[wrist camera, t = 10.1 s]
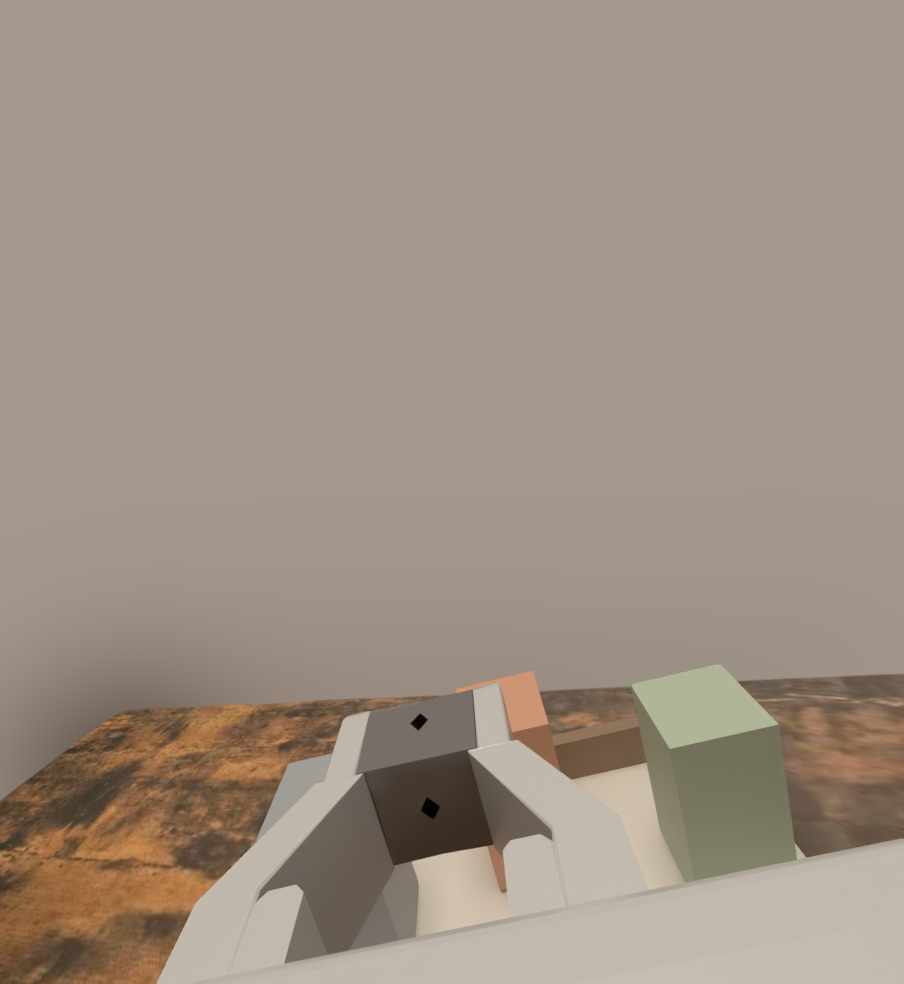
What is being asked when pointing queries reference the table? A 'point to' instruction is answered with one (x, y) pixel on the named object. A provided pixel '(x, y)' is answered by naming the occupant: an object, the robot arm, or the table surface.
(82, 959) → the table surface
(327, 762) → the blue-grey block
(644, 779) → the cream board with rail
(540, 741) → the terracotta rectangular block
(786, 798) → the sage green block
